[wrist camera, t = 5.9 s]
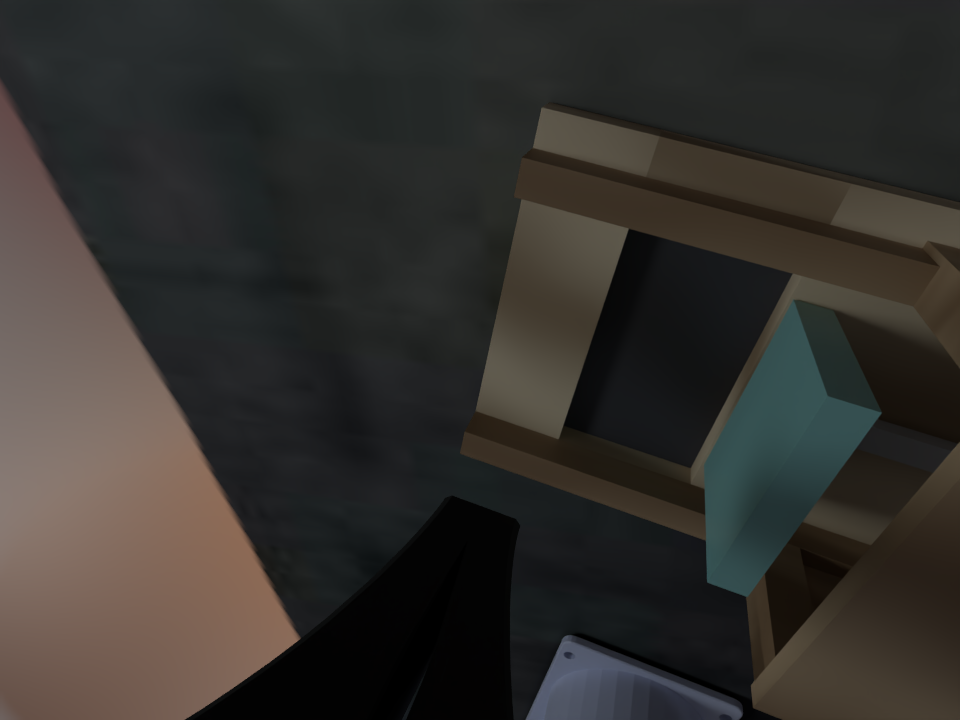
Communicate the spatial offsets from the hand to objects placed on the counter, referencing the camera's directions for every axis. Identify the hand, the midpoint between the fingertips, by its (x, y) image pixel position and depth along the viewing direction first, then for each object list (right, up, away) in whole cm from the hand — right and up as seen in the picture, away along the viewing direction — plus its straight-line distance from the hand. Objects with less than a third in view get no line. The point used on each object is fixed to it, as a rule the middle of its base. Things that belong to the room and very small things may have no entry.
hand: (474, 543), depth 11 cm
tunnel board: (+11, +2, +6) cm, 13 cm away
